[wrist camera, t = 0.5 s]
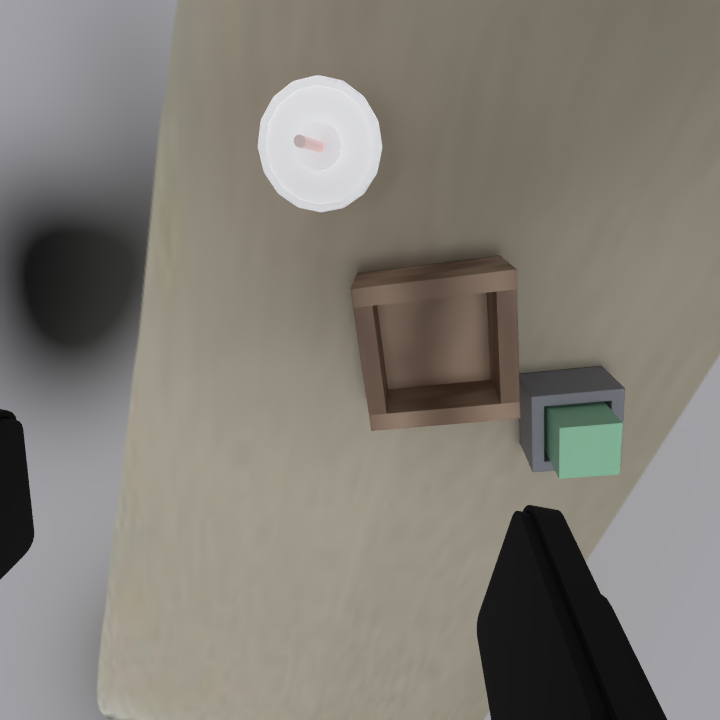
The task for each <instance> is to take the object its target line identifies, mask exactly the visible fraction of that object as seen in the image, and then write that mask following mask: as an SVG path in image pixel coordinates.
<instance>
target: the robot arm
mask: <svg viewBox="0 0 720 720" xmlns="http://www.w3.org/2000/svg"><path fill="white" fill-rule="evenodd" d="M33 538H34V526H33V516H32V508H31V498H30V489H29V480H28V470H27V461H26V451H25V443H24V433H23V427H22V424H21V423H20V422H19V421H17V420H16V417H15V415H14V414H13V413H12V412H10V411H7V410H2V409H0V579H1V578H2V577H3V576H4V575H5V574H6V573H7V572H8V571H9V570H10V569H11V568H12V567H13V566H14V565H15V564H16V563H17V562H18V561H19V560H20V559H21V558H22V557H23V556H24V555H25V554H26V552H27V551H28V550H29V548H30V546H31V544H32V542H33ZM477 638H478V644H479V650H480V655H481V661H482V667H483V673H484V679H485V685H486V691H487V697H488V703H489V709H490V715H491V720H667V718H666V716H665V714H664V712H663V710H662V708H661V706H660V704H659V702H658V700H657V698H656V696H655V694H654V692H653V690H652V688H651V686H650V684H649V682H648V680H647V677H646V675H645V674H644V671H643V669H642V668H641V665H640V663H639V661H638V659H637V657H636V655H635V653H634V651H633V649H632V647H631V645H630V643H629V641H628V639H627V637H626V635H625V633H624V631H623V628H622V626H621V624H620V622H619V620H618V618H617V616H616V614H615V612H614V610H613V608H612V606H611V605H610V603H609V602H608V600H607V598H605V597H604V596H603V595H601V594H600V591H599V589H598V587H597V585H596V583H595V581H594V579H593V577H592V575H591V573H590V570H589V568H588V566H587V564H586V562H585V560H584V558H583V556H582V554H581V551H580V549H579V547H578V545H577V543H576V541H575V539H574V537H573V535H572V533H571V531H570V529H569V526H568V524H567V522H566V520H565V518H564V516H563V514H562V513H561V512H560V511H558V510H554V509H549V508H543V507H538V506H532V505H528V506H526V507H525V508H524V510H523V512H521V511H515V513H514V514H513V516H512V519H511V522H510V525H509V527H508V530H507V533H506V536H505V539H504V542H503V545H502V548H501V551H500V554H499V557H498V560H497V563H496V565H495V568H494V571H493V574H492V577H491V580H490V583H489V586H488V589H487V592H486V595H485V598H484V600H483V603H482V606H481V609H480V612H479V616H478V621H477Z"/></svg>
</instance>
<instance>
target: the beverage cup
mask: <svg viewBox="0 0 720 720" xmlns="http://www.w3.org/2000/svg"><path fill="white" fill-rule="evenodd" d="M382 148H383V147H382V141H381V135H380V129H379V122H378V119H377V118H376V116H375V114H374V112H373V111H372V109H371V107H370V106H369V104H368V102H367V101H366V99H365V97H364V96H363V95H361V94H360V93H359V92H357V91H356V90H355V89H353V88H352V87H351V86H350V85H348V84H347V83H346V82H344V81H343V80H338V79H334V78H329V77H325V76H320V75H316V76H312V77H307V78H303V79H299V80H295V81H292V82H291V83H290V84H289V85H287V86H286V87H285V88H284V89H282V90H281V91H280V92H279V93H277V94H276V95H275V96H274V97H273V98H272V100H271V102H270V104H269V106H268V107H267V109H266V111H265V113H264V115H263V117H262V119H261V122H260V131H259V140H258V150H259V154H260V158H261V162H262V167H263V171H264V173H265V175H266V176H267V178H268V179H269V181H270V182H271V184H272V185H273V187H274V188H275V190H276V191H277V193H278V194H280V195H281V196H282V197H284V198H285V199H287V200H288V201H290V202H291V203H292V204H294V205H295V206H297V207H299V208H303V209H308V210H312V211H317V212H326V211H331V210H336V209H341V208H344V207H346V206H347V205H349V204H350V203H352V202H353V201H354V200H356V199H357V198H359V197H360V196H362V195H363V194H364V193H365V191H366V190H367V188H368V187H369V185H370V184H371V182H372V181H373V179H374V177H375V176H376V174H377V172H378V167H379V162H380V157H381V153H382Z"/></svg>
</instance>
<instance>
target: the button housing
mask: <svg viewBox="0 0 720 720" xmlns="http://www.w3.org/2000/svg"><path fill="white" fill-rule="evenodd" d="M519 395H520V418H519V421H520V444H521V446H522V449H523V451H524V453H525V456H526V458H527V460H528V462H529V465H530V467H531V469H532V472H542V471H555V469H554V467H553V465H552V464H551V462H550V460H549V458H548V456H547V454H546V452H545V450H544V406H555V405H567V404H578V403H590V402H602V401H604V402H605V403H606V404H607V406H608V407H609V408H610V409H611V410H612V411H613V412H614V414H615V415H616V416H617V417H618V418H619V419H620V420H621V421H622V423H623V417H624V400H625V388H624V387H623V386H622V385H621V384H620V383H619V382H618V381H617V380H616V379H615V378H614V377H613V376H612V375H611V374H610V373H608V372H607V371H606V370H605V369H604V368H603V367H602V366H598V367H587V368H577V369H566V370H555V371H545V372H534V373H524V374H519ZM622 434H623V428H622ZM621 451H622V446H621ZM620 466H621V463H620Z"/></svg>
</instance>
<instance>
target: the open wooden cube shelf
mask: <svg viewBox="0 0 720 720" xmlns="http://www.w3.org/2000/svg"><path fill="white" fill-rule="evenodd" d="M351 295H352V302H353V309H354V316H355V322H356V329H357V336H358V343H359V350H360V356H361V363H362V370H363V377H364V384H365V390H366V397H367V404H368V411H369V418H370V425H371V431H374V430H386V429H398V428H410V427H422V426H434V425H446V424H458V423H470V422H482V421H494V420H506V419H518V418H520V395H519V355H518V316H517V276H516V269H515V268H514V267H513V266H512V265H511V264H509V263H508V262H507V261H506V260H505V259H504V258H502V257H501V256H494V257H486V258H478V259H470V260H462V261H454V262H446V263H438V264H429V265H421V266H413V267H405V268H397V269H389V270H381V271H373V272H365V273H357V275H356V278H355V280H354V282H353V285H352V287H351Z"/></svg>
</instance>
